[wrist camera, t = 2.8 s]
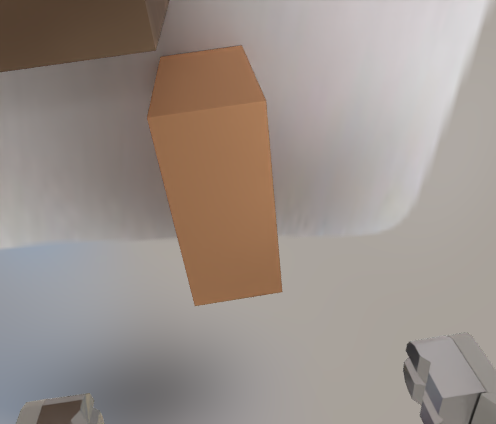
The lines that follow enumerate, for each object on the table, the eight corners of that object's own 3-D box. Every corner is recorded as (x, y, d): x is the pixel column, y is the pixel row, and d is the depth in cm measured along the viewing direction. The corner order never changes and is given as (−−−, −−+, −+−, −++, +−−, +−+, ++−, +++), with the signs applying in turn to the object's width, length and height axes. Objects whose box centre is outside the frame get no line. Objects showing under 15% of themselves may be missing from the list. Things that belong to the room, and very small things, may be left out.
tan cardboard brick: (160, 56, 21) (146, 117, 14) (241, 45, 21) (265, 100, 14) (193, 208, 26) (195, 306, 19) (258, 198, 26) (282, 292, 19)
